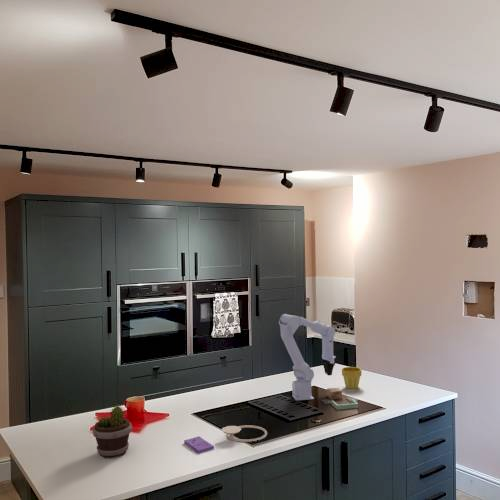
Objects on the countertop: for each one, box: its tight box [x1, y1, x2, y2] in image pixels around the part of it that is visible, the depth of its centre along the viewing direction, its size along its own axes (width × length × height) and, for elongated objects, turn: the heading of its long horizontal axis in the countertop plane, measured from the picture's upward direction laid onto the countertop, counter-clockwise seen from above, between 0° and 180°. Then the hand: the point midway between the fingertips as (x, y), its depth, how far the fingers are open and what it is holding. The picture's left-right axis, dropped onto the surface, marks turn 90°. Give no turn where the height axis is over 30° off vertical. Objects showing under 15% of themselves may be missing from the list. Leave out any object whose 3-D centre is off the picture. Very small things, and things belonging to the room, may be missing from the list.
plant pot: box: [341, 366, 362, 390], centre depth 278 cm, size 10×10×10 cm
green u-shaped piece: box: [321, 396, 359, 411], centre depth 250 cm, size 16×14×2 cm
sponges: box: [183, 435, 215, 454], centre depth 203 cm, size 7×13×2 cm, turn 34°
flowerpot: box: [92, 403, 133, 459], centre depth 198 cm, size 14×15×20 cm
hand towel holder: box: [221, 424, 268, 443], centre depth 213 cm, size 17×4×21 cm
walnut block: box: [326, 387, 343, 400], centre depth 261 cm, size 6×6×4 cm
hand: (328, 374), depth 270 cm, fingers open, 3 cm apart
